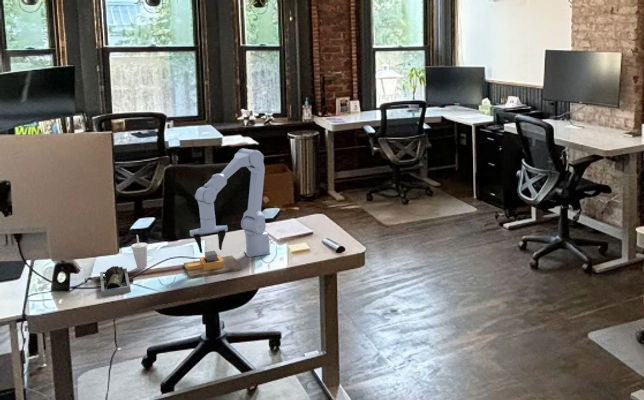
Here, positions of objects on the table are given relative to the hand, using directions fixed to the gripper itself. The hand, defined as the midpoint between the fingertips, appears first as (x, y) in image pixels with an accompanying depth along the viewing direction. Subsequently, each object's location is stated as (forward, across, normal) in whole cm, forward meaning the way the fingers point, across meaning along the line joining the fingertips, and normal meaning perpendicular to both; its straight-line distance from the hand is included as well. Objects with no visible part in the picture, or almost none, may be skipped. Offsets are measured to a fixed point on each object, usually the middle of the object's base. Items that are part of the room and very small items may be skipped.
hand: (210, 250), depth 252 cm
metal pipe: (+7, +37, +1) cm, 38 cm away
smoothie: (+7, +26, -13) cm, 30 cm away
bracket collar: (+6, +3, 0) cm, 7 cm away
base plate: (+7, 0, 0) cm, 7 cm away
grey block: (+7, 0, 0) cm, 7 cm away
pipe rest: (+7, +37, +1) cm, 38 cm away
